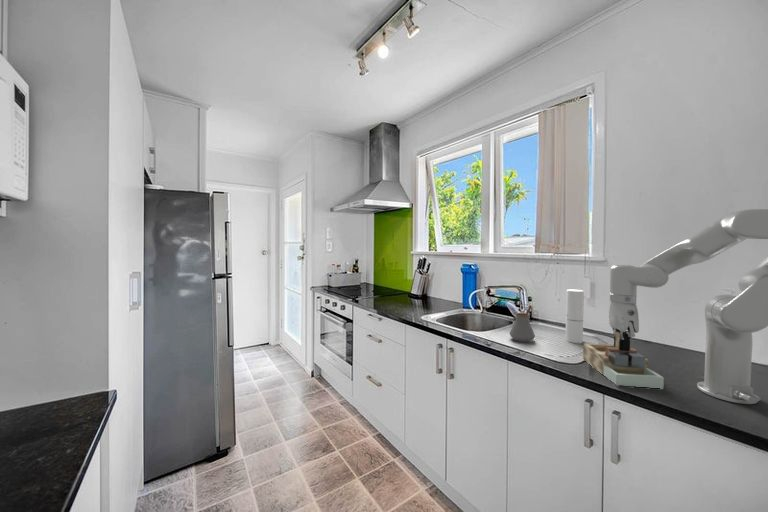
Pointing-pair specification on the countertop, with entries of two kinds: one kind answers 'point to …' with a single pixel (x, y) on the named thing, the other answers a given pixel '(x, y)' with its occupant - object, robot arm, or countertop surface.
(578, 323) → the cylindrical container
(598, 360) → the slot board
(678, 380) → the countertop surface
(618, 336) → the wooden t-shaped piece
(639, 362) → the blue-grey cube
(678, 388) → the countertop surface
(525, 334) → the coffee pot
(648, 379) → the tray
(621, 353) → the blue-grey cube
